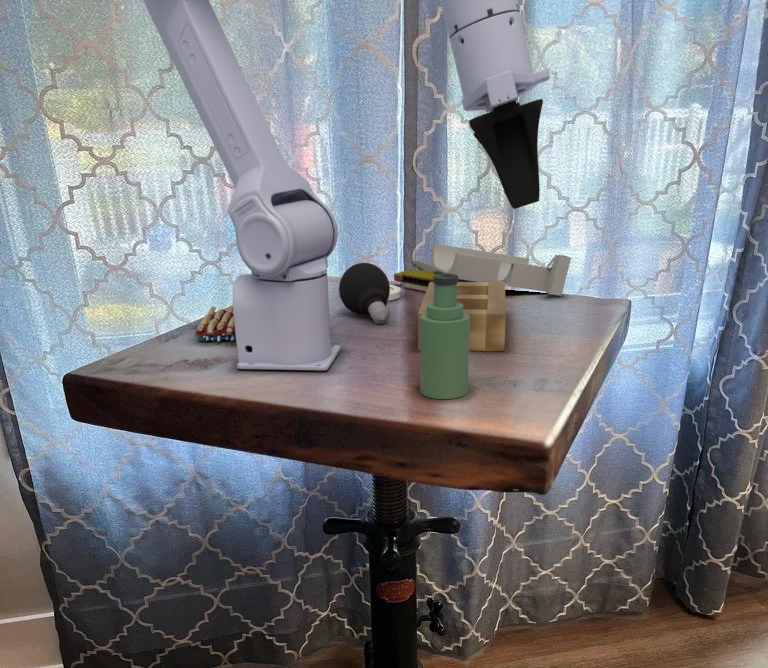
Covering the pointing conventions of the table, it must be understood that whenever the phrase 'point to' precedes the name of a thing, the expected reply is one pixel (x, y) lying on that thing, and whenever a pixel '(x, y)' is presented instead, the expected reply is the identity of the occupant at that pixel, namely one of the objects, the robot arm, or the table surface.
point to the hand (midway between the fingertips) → (525, 204)
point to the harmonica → (417, 279)
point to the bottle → (444, 342)
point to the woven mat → (217, 325)
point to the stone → (425, 267)
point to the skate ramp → (500, 268)
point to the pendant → (394, 292)
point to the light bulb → (366, 291)
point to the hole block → (478, 313)
